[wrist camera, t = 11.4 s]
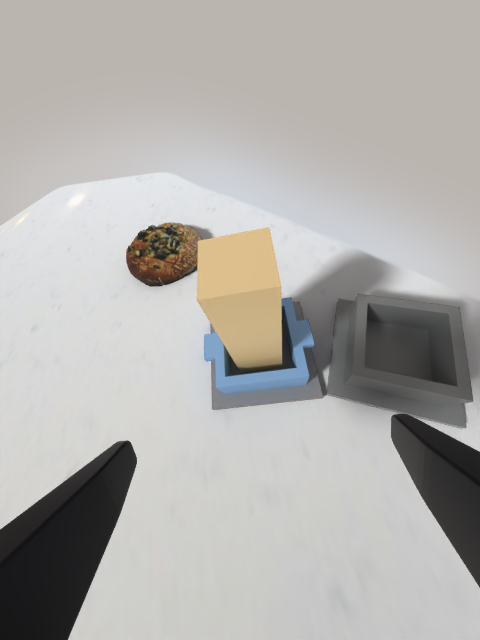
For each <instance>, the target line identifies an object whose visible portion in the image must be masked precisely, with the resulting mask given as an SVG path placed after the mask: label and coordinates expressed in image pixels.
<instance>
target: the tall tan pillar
mask: <svg viewBox="0 0 480 640" xmlns="http://www.w3.org/2000/svg"><path fill="white" fill-rule="evenodd" d="M197 301H198V303H199V304H200V306H201V308H202V309H203V311H204V313H205V314H206V316H207V318H208V319H209V321H210V323H211V324H212V326H213V328H214V329H215V331H216V333H217V334H218V336H219V337H220V339H221V341H222V342H223V344H224V346H225V347H226V349H227V351H228V352H229V354H230V356H231V357H232V359H233V361H234V362H235V364H236V366H237V367H238V369H239V370H240V372H241V373H243V372H251V371H260V370H268V369H276V368H282V308H281V283H280V278H279V273H278V268H277V263H276V258H275V253H274V249H273V244H272V239H271V234H270V229H269V227H268V228H263V229H258V230H252V231H247V232H242V233H237V234H231V235H226V236H221V237H215V238H210V239H205V240H200V241H198V265H197Z"/></svg>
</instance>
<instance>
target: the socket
mask: <svg viewBox="0 0 480 640" xmlns="http://www.w3.org/2000/svg"><path fill="white" fill-rule="evenodd" d="M326 395H329V396H333V397H337V398H341V399H345V400H349V401H353V402H357V403H361V404H365V405H369V406H373V407H377V408H381V409H385V410H389V411H393V412H397V413H401V414H408V415H410V416H413V417H417V418H421V419H425V420H429V421H433V422H437V423H441V424H445V425H449V426H454V427H458V428H466V421H465V413H464V405H463V404H464V403H468V402H473V395H472V388H471V382H470V375H469V368H468V361H467V355H466V348H465V341H464V334H463V327H462V321H461V314H460V307H456V306H448V305H440V304H432V303H425V302H417V301H409V300H401V299H394V298H386V297H378V296H370V295H363V294H358V296H357V298H356V299H355V301H348V300H341V299H338V302H337V309H336V318H335V326H334V335H333V343H332V352H331V360H330V369H329V377H328V386H327V394H326Z"/></svg>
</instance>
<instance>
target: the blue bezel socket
mask: <svg viewBox="0 0 480 640" xmlns="http://www.w3.org/2000/svg"><path fill="white" fill-rule="evenodd" d="M281 308H282V368H276V369H268V370H260V371H251V372H243V373H241V372H240V370H239V369H238V367H237V366H236V364H235V362H234V361H233V359H232V357H231V356H230V354H229V352H228V351H227V349H226V347H225V346H224V344H223V342H222V341H221V339H220V337H219V336H218V334H217V333H216V331H215V329H214V328H213V326H212V324H211V323H210V324H211V334H205V335H204V359H205V360H206V361H211V379H212V409H213V410H218V409H227V408H237V407H246V406H255V405H264V404H273V403H282V402H292V401H301V400H310V399H319V398H323V395H322V391H321V387H320V383H319V379H318V375H317V371H316V366H315V362H314V358H313V354H312V350H311V347H314V340H313V337H312V333H311V329H310V325H309V321H308V320H304V318H303V314H302V310H301V306H300V302H295V303H293V302H292V298H291V297H290V298H284V299H281Z"/></svg>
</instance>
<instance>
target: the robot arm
mask: <svg viewBox="0 0 480 640" xmlns="http://www.w3.org/2000/svg"><path fill="white" fill-rule="evenodd" d="M391 438H392V441H393V444H394V446H395V448H396V449H397V451H398V453H399V455H400V457H401V459H402V461H403V463H404V465H405V467H406V468H407V470H408V472H409V474H410V476H411V478H412V480H413V482H414V484H415V486H416V487H417V489H418V491H419V493H420V495H421V496H422V498H423V500H424V501H425V503H426V505H427V506H428V508H429V509H430V511H431V512H432V514H433V516H434V517H435V519H436V520H437V522H438V523H439V525H440V526H441V528H442V530H443V531H444V533H445V534H446V536H447V537H448V539H449V540H450V542H451V544H452V545H453V547H454V548H455V550H456V551H457V553H458V554H459V556H460V558H461V559H462V561H463V562H464V564H465V565H466V567H467V568H468V570H469V572H470V573H471V575H472V576H473V578H474V579H475V581H476V582H477V584H478V586H479V587H480V452H479V451H477V450H475V449H473V448H471V447H470V446H468V445H466V444H464V443H462V442H460V441H458V440H456V439H454V438H452V437H450V436H448V435H447V434H445V433H443V432H441V431H439V430H437V429H435V428H433V427H431V426H429V425H427V424H425V423H424V422H422V421H420V420H418V419H416V418H414V417H412V416H410V415H408V414H396V415H393V416H392V418H391ZM136 464H137V457H136V454H135V452H134V449H133V447H132V444H131V442H130V441H119V442H116V443H115V444H114V445H112V446H111V447H110V448H108V449H107V450H106V451H104V452H103V453H102V454H100V455H99V456H98V457H96V458H95V459H94V460H92V461H91V462H90V463H88V464H87V465H86V466H84V467H83V468H82V469H80V470H79V471H78V472H76V473H75V474H74V475H72V476H71V477H70V478H68V479H67V480H66V481H64V482H63V483H62V484H60V485H59V486H58V487H56V488H55V489H54V490H52V491H51V492H50V493H48V494H47V495H46V496H44V497H43V498H42V499H40V500H39V501H38V502H36V503H35V504H34V505H32V506H31V507H30V508H28V509H27V510H26V511H24V512H23V513H22V514H20V515H19V516H18V517H16V518H15V519H14V520H12V521H11V522H10V523H8V524H7V525H6V526H4V527H3V528H2V529H0V640H68V638H69V636H70V633H71V631H72V628H73V626H74V624H75V621H76V619H77V616H78V614H79V612H80V609H81V607H82V605H83V602H84V600H85V597H86V595H87V593H88V590H89V588H90V585H91V583H92V581H93V578H94V576H95V573H96V571H97V569H98V566H99V564H100V562H101V559H102V557H103V554H104V552H105V550H106V547H107V545H108V542H109V540H110V538H111V535H112V533H113V530H114V528H115V526H116V523H117V521H118V518H119V516H120V513H121V510H122V507H123V504H124V501H125V498H126V495H127V492H128V489H129V486H130V483H131V480H132V477H133V474H134V471H135V468H136Z"/></svg>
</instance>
